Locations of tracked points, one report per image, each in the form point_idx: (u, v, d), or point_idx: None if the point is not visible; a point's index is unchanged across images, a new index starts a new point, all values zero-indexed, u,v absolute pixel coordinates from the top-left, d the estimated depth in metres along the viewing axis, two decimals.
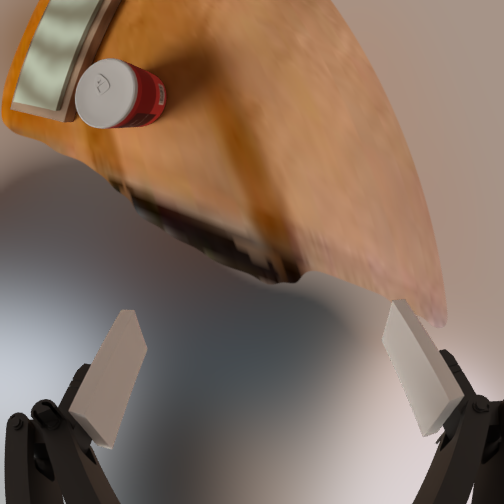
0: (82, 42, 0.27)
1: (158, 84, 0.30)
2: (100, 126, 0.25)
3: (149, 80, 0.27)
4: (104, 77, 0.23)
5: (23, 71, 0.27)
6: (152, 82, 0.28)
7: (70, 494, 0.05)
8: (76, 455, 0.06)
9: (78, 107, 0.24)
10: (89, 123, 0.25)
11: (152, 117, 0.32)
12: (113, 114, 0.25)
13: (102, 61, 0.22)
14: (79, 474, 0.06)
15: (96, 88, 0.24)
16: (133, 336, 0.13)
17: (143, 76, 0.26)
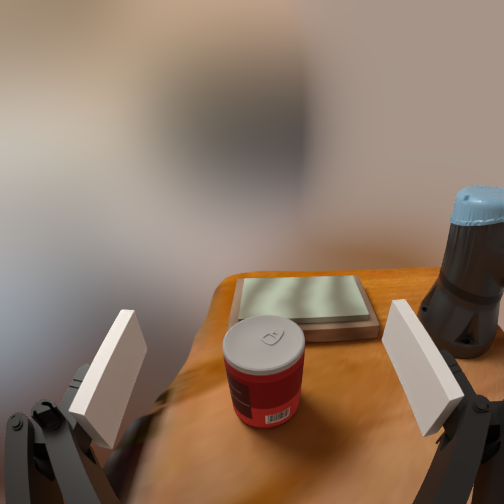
0: (313, 322, 0.41)
1: (288, 408, 0.27)
2: (224, 347, 0.26)
3: (290, 391, 0.26)
4: (281, 337, 0.27)
5: (274, 279, 0.50)
6: (289, 397, 0.26)
7: (70, 494, 0.05)
8: (76, 455, 0.06)
9: (243, 322, 0.29)
10: (226, 336, 0.27)
11: (247, 415, 0.27)
12: (240, 357, 0.25)
13: (298, 328, 0.28)
14: (79, 474, 0.06)
15: (267, 333, 0.28)
16: (133, 336, 0.13)
17: (293, 380, 0.25)
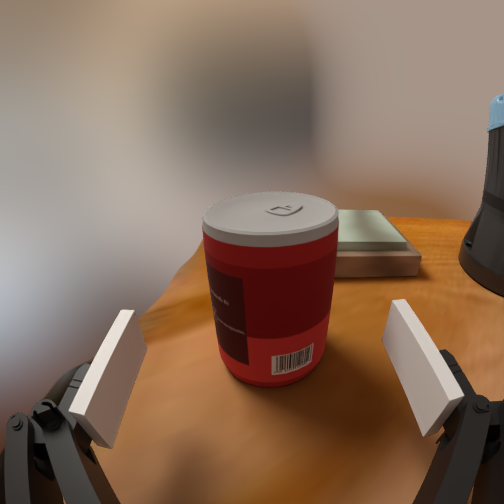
0: None
1: (312, 344, 0.17)
2: (205, 215, 0.16)
3: (317, 304, 0.16)
4: (298, 209, 0.17)
5: None
6: (314, 317, 0.16)
7: (70, 494, 0.05)
8: (76, 455, 0.06)
9: (238, 197, 0.19)
10: (211, 207, 0.17)
11: (241, 357, 0.17)
12: (230, 225, 0.15)
13: (325, 201, 0.18)
14: (79, 474, 0.06)
15: (276, 207, 0.18)
16: (133, 336, 0.13)
17: (323, 277, 0.15)
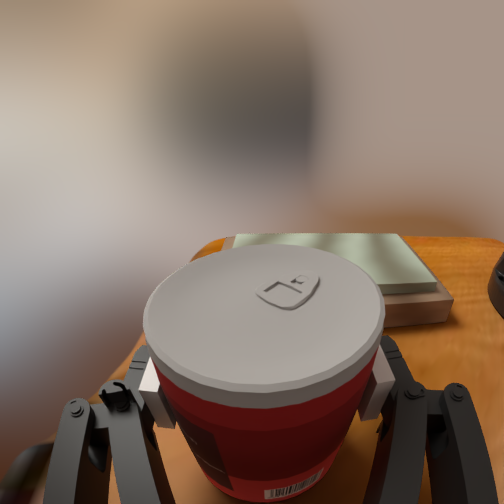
0: None
1: (321, 469, 0.10)
2: (149, 310, 0.09)
3: (335, 439, 0.08)
4: (314, 290, 0.10)
5: (282, 235, 0.33)
6: (329, 451, 0.09)
7: (125, 479, 0.06)
8: (141, 441, 0.07)
9: (213, 256, 0.12)
10: (163, 283, 0.10)
11: (222, 483, 0.10)
12: (189, 340, 0.08)
13: (356, 268, 0.10)
14: (140, 461, 0.07)
15: (275, 281, 0.11)
16: None
17: (350, 412, 0.08)
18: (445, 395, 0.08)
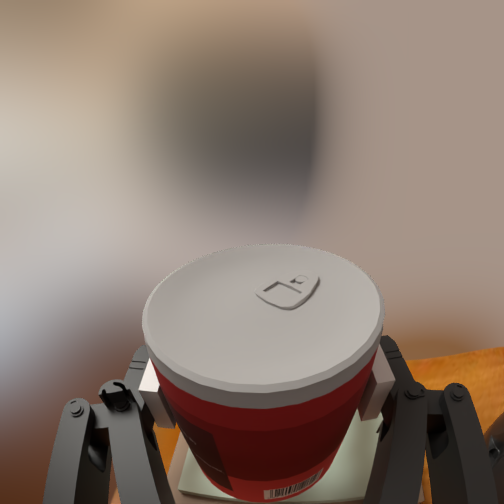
0: (312, 503, 0.16)
1: (321, 469, 0.10)
2: (148, 309, 0.09)
3: (335, 440, 0.08)
4: (313, 290, 0.10)
5: None
6: (328, 451, 0.09)
7: (125, 480, 0.06)
8: (141, 441, 0.07)
9: (213, 256, 0.12)
10: (163, 283, 0.10)
11: (222, 483, 0.10)
12: (188, 340, 0.08)
13: (356, 268, 0.10)
14: (140, 461, 0.07)
15: (274, 281, 0.10)
16: None
17: (349, 412, 0.08)
18: (445, 395, 0.08)
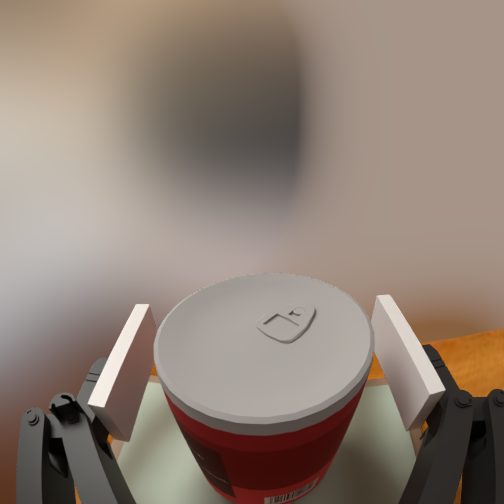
0: None
1: (316, 478, 0.10)
2: (158, 343, 0.09)
3: (328, 454, 0.09)
4: (310, 322, 0.10)
5: None
6: (323, 464, 0.09)
7: (84, 489, 0.05)
8: (93, 450, 0.07)
9: (215, 286, 0.12)
10: (170, 316, 0.11)
11: (225, 491, 0.10)
12: (197, 374, 0.08)
13: (350, 300, 0.11)
14: (96, 470, 0.06)
15: (274, 313, 0.11)
16: (148, 330, 0.14)
17: (341, 432, 0.09)
18: (489, 399, 0.07)
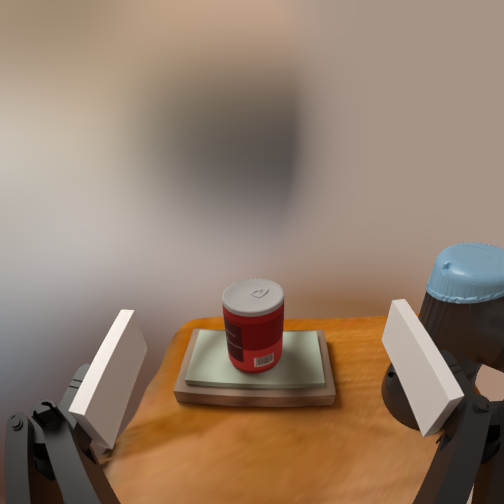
0: (262, 387, 0.37)
1: (272, 353, 0.37)
2: (223, 298, 0.36)
3: (273, 336, 0.36)
4: (266, 293, 0.37)
5: None
6: (272, 341, 0.36)
7: (70, 494, 0.05)
8: (76, 455, 0.06)
9: (237, 283, 0.39)
10: (225, 291, 0.37)
11: (240, 358, 0.37)
12: (235, 304, 0.35)
13: (279, 287, 0.38)
14: (79, 475, 0.06)
15: (256, 290, 0.38)
16: (133, 336, 0.13)
17: (275, 325, 0.35)
18: None
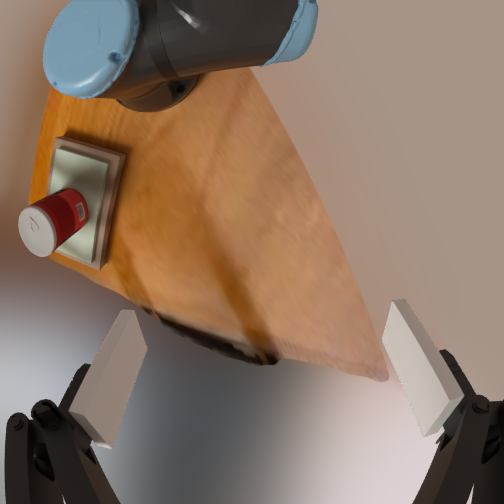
0: (100, 209, 0.45)
1: (76, 205, 0.40)
2: (40, 255, 0.35)
3: (66, 211, 0.37)
4: (33, 220, 0.33)
5: None
6: (69, 210, 0.38)
7: (70, 494, 0.05)
8: (76, 455, 0.06)
9: (23, 239, 0.34)
10: (33, 252, 0.35)
11: (78, 229, 0.42)
12: (45, 248, 0.35)
13: (28, 209, 0.32)
14: (79, 475, 0.06)
15: (30, 227, 0.34)
16: (133, 336, 0.13)
17: (59, 213, 0.35)
18: None
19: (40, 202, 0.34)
